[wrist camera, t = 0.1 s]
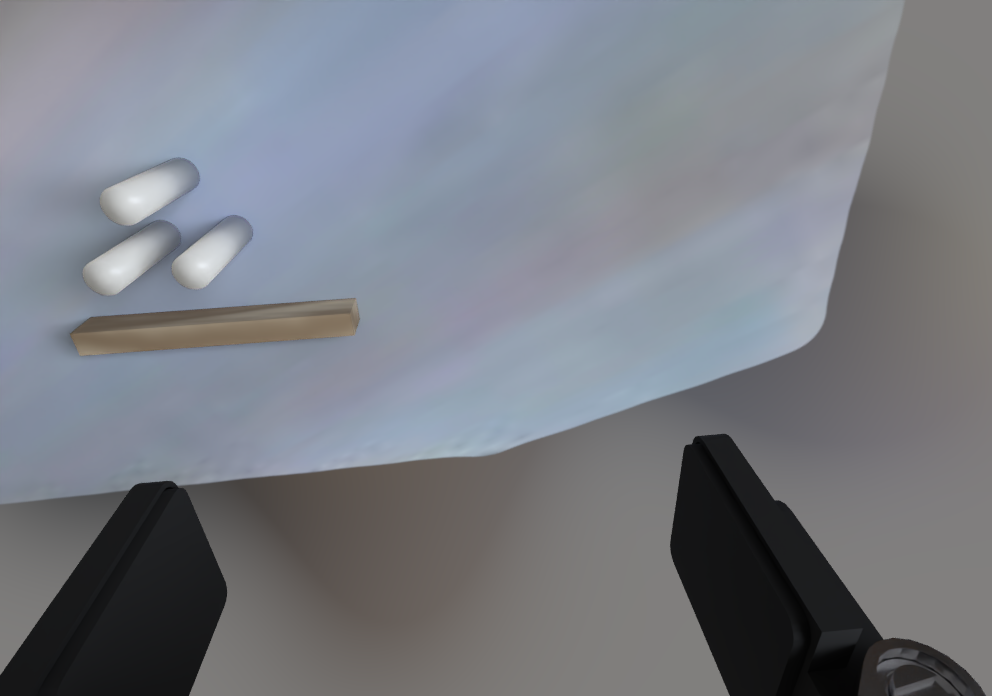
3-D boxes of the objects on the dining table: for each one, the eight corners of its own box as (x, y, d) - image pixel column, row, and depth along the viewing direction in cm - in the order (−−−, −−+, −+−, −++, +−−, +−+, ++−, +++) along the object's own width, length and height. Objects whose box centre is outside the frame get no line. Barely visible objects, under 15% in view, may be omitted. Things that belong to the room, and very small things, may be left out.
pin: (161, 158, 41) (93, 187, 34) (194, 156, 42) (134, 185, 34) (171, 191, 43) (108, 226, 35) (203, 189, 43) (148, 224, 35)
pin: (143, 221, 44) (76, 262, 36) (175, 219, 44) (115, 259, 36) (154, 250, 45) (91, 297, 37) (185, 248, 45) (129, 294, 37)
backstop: (90, 317, 47) (69, 333, 44) (355, 298, 48) (350, 313, 45) (100, 338, 48) (80, 355, 45) (359, 319, 49) (354, 335, 46)
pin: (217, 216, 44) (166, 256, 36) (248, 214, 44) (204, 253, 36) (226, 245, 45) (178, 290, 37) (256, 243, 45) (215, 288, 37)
